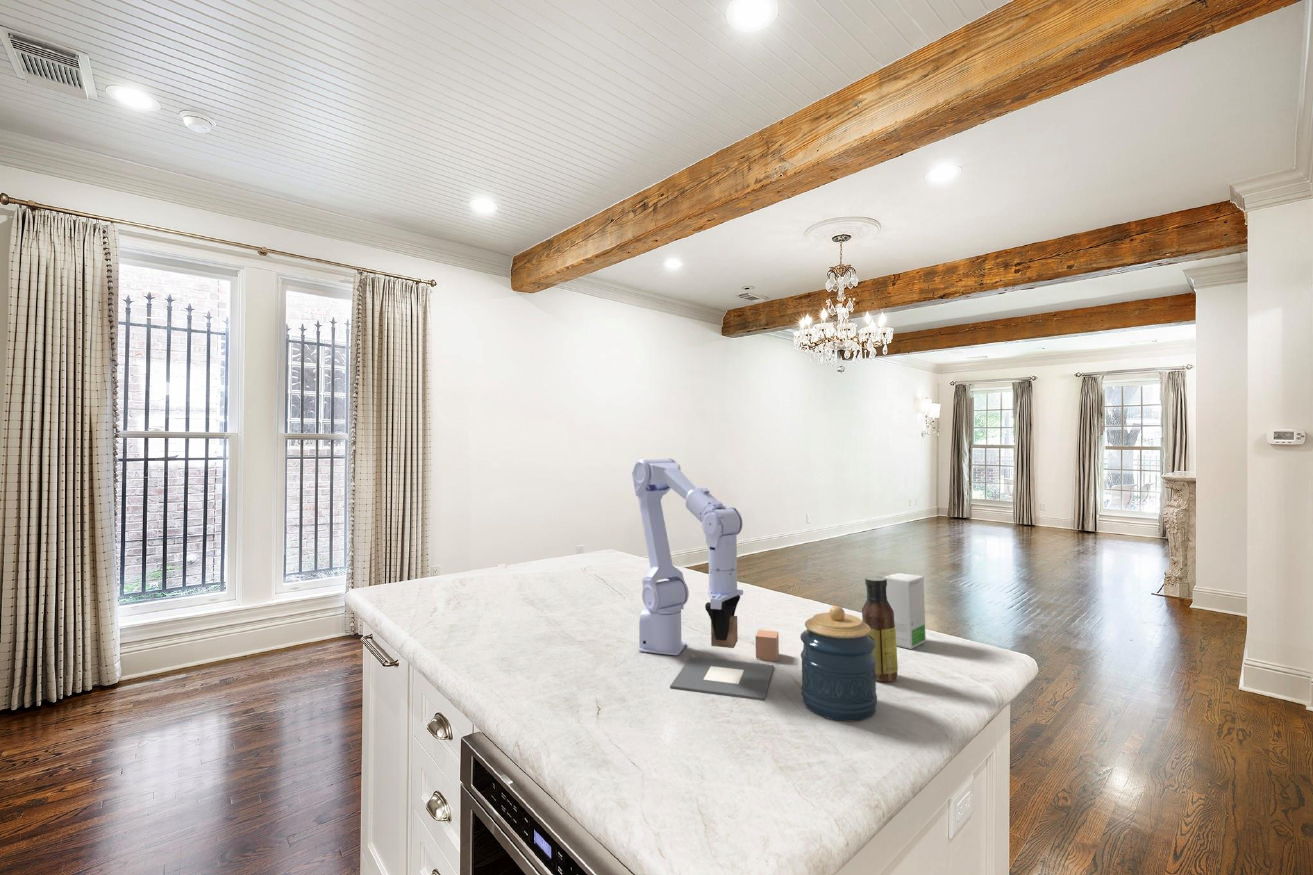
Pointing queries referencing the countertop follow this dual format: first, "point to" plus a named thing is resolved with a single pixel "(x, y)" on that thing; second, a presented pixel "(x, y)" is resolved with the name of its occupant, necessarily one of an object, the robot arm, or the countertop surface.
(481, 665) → the countertop surface
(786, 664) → the countertop surface
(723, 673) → the grey mat
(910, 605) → the skincare box
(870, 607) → the sauce bottle
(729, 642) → the walnut block
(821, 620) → the canister
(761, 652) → the terracotta block
